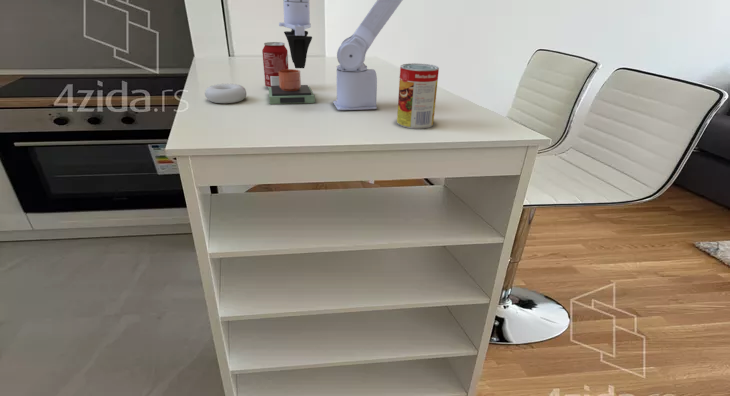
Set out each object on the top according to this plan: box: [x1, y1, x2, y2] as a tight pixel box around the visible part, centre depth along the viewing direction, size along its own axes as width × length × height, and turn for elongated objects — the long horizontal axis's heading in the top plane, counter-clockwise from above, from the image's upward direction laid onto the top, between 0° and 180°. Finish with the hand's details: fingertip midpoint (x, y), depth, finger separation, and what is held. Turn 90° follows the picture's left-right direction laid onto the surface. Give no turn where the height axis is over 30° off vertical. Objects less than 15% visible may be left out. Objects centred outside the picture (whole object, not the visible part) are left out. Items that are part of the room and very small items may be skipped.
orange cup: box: [278, 68, 302, 91], centre depth 108 cm, size 5×5×4 cm
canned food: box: [396, 62, 440, 130], centre depth 89 cm, size 8×8×12 cm
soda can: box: [262, 41, 289, 89], centre depth 118 cm, size 7×7×12 cm
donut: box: [204, 83, 247, 104], centre depth 106 cm, size 10×4×10 cm
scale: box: [268, 84, 316, 105], centre depth 109 cm, size 11×11×2 cm
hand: (298, 65), depth 100 cm, fingers open, 7 cm apart
